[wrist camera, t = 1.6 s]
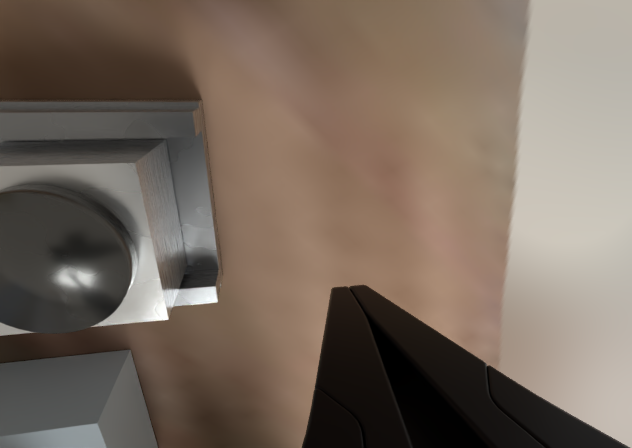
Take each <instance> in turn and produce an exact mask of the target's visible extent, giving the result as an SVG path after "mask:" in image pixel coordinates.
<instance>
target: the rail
mask: <svg viewBox="0 0 632 448" xmlns="http://www.w3.org/2000/svg"><path fill="white" fill-rule="evenodd" d="M115 140H166V145H167V151H168V157H169V163H170V169H171V175H172V181H173V186H174V192H175V198H176V204H177V210H178V216H179V222H180V228H181V234H182V240H183V246H184V251H185V257H186V263H187V267H186V270H185V273H184V276H183V279H182V282H181V285H180V288H179V291H178V293H177V296H176V299H175V302H174V305H173V306H183V305H194V304H205V303H216V302H218V297H219V291H220V287H221V285H222V278H223V271H222V263H221V255H220V246H219V238H218V229H217V221H216V213H215V204H214V196H213V188H212V179H211V171H210V163H209V154H208V146H207V138H206V129H205V121H204V112H203V104H202V100H0V142H55V141H115Z"/></svg>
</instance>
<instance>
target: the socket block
mask: <svg viewBox="0 0 632 448" xmlns="http://www.w3.org/2000/svg"><path fill="white" fill-rule="evenodd" d="M0 448H158V446H157V442H156V439H155V435H154V432H153V428H152V425H151V421H150V417H149V414H148V410H147V407H146V403H145V400H144V396H143V393H142V389H141V386H140V382H139V379H138V375H137V372H136V368H135V365H134V361H133V358H132V354H131V351H130V350H121V351H112V352H103V353H94V354H84V355H75V356H66V357H57V358H47V359H38V360H29V361H19V362H10V363H1V364H0Z"/></svg>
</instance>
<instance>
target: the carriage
mask: <svg viewBox="0 0 632 448" xmlns="http://www.w3.org/2000/svg"><path fill="white" fill-rule="evenodd" d="M186 267H187V263H186V257H185V251H184V246H183V240H182V234H181V228H180V222H179V216H178V210H177V204H176V198H175V192H174V186H173V181H172V175H171V169H170V163H169V157H168V151H167V145H166V140H115V141H55V142H0V336H2V335H13V334H23V333H34V332H37V333H50V334H57V333H69V332H75V331H79V330H83V329H86V328H89V327H96V326H106V325H117V324H127V323H137V322H148V321H158V320H168V319H169V317H170V314H171V311H172V308H173V305H174V302H175V299H176V296H177V293H178V291H179V288H180V285H181V282H182V279H183V276H184V273H185V270H186Z"/></svg>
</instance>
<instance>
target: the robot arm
mask: <svg viewBox="0 0 632 448" xmlns="http://www.w3.org/2000/svg"><path fill="white" fill-rule="evenodd" d="M302 448H630V447H628V446H626V445H624V444H622V443H621V442H619V441H617V440H615V439H613V438H612V437H610V436H608V435H606V434H604V433H603V432H601V431H599V430H597V429H595V428H594V427H592V426H590V425H588V424H586V423H585V422H583V421H581V420H579V419H578V418H576V417H574V416H572V415H571V414H569V413H567V412H565V411H564V410H562V409H560V408H558V407H557V406H555V405H553V404H551V403H550V402H548V401H546V400H545V399H543V398H541V397H539V396H537V395H536V394H534V393H533V392H531V391H530V390H528V389H526V388H525V387H523V386H521V385H520V384H518V383H517V382H515V381H513V380H512V379H510V378H509V377H507V376H505V375H504V374H502V373H501V372H499V371H498V370H496V369H495V368H493V367H492V366H490V365H489V366H487V364H486V363H485V362H484V361H482V360H481V359H479V358H477V357H476V356H474V355H473V354H471V353H470V352H468V351H467V350H465V349H464V348H462V347H460V346H459V345H457V344H456V343H454V342H453V341H451V340H450V339H448V338H447V337H445V336H443V335H442V334H440V333H439V332H437V331H436V330H434V329H433V328H431V327H430V326H428V325H426V324H425V323H423V322H422V321H420V320H419V319H417V318H416V317H414V316H413V315H411V314H409V313H408V312H406V311H405V310H403V309H402V308H400V307H399V306H397V305H396V304H394V303H392V302H391V301H389V300H388V299H386V298H385V297H383V296H382V295H380V294H379V293H377V292H375V291H374V290H372V289H371V288H369V287H368V286H366V285H356V286H350V287H349V288H348V287H346V286H345V287H334V288H332V289H331V294H330V300H329V306H328V312H327V318H326V324H325V330H324V336H323V342H322V348H321V354H320V360H319V366H318V372H317V378H316V384H315V390H314V394H313V400H312V406H311V411H310V416H309V421H308V425H307V430H306V434H305V438H304V441H303V445H302Z"/></svg>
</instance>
